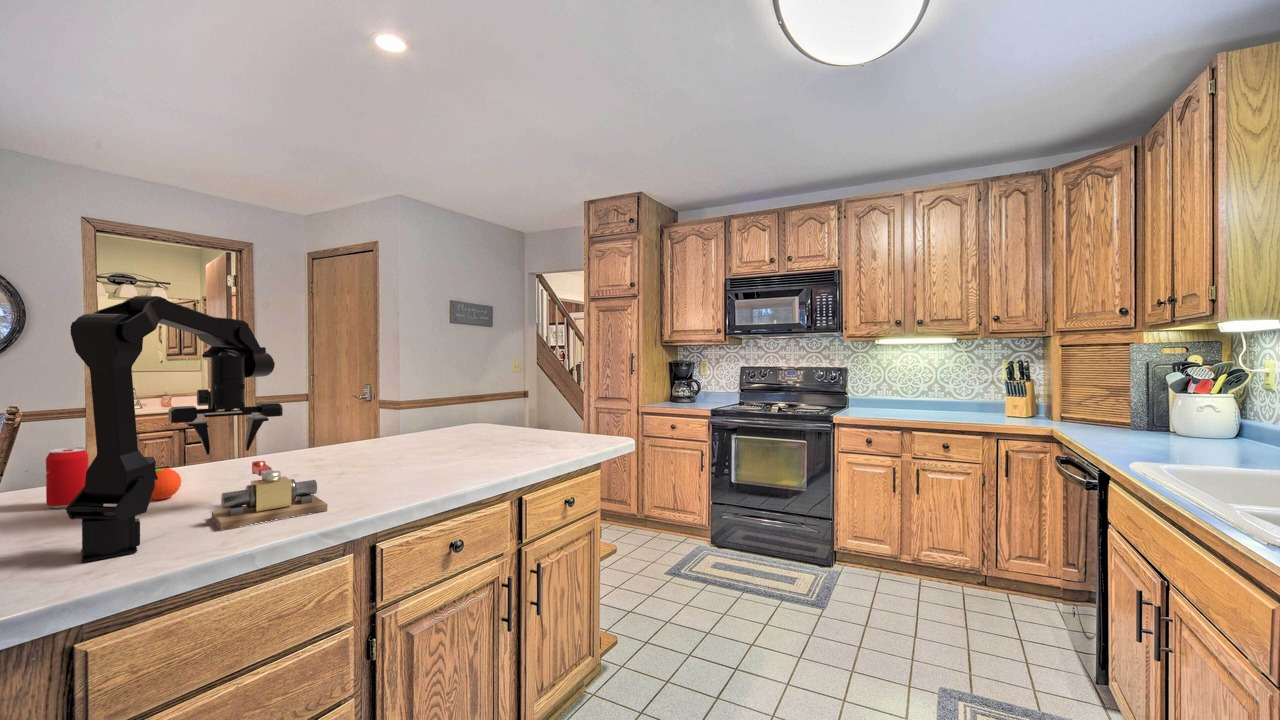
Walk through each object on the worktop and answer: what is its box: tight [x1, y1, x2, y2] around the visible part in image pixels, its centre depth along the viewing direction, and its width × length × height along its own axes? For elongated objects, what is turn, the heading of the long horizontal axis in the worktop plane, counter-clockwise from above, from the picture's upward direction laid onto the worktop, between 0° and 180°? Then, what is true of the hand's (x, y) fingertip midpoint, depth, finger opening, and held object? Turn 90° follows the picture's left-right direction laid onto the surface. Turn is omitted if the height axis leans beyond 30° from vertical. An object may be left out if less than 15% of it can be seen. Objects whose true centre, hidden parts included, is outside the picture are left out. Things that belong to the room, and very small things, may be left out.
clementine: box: [150, 467, 182, 501], centre depth 120 cm, size 8×7×7 cm
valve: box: [220, 476, 318, 517], centre depth 111 cm, size 16×5×6 cm, turn 136°
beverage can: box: [45, 446, 89, 509], centre depth 115 cm, size 6×6×12 cm
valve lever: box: [251, 460, 282, 481], centre depth 115 cm, size 14×3×2 cm, turn 46°
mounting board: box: [211, 494, 328, 531], centre depth 111 cm, size 18×10×2 cm, turn 136°
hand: (227, 452), depth 115 cm, fingers open, 6 cm apart
